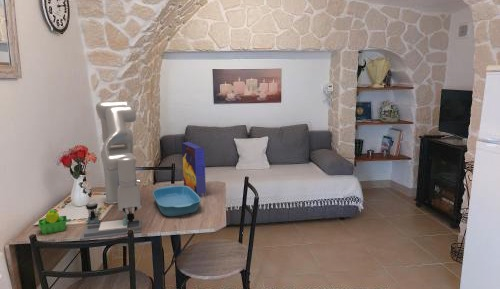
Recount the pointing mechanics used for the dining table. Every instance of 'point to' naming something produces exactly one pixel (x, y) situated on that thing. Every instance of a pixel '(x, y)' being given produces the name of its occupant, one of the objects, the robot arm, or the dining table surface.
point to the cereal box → (194, 167)
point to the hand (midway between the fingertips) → (130, 220)
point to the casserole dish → (176, 200)
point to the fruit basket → (52, 222)
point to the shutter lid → (114, 224)
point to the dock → (94, 232)
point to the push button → (92, 213)
